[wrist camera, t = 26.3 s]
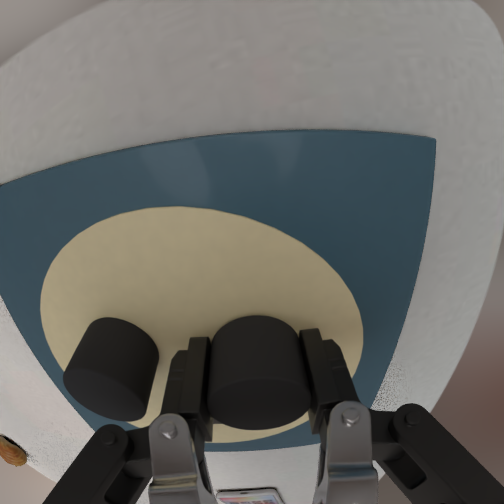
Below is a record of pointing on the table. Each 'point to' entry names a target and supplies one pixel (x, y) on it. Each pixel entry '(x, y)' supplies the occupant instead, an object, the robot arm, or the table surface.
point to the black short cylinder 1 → (113, 370)
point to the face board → (222, 250)
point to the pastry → (12, 453)
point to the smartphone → (250, 497)
